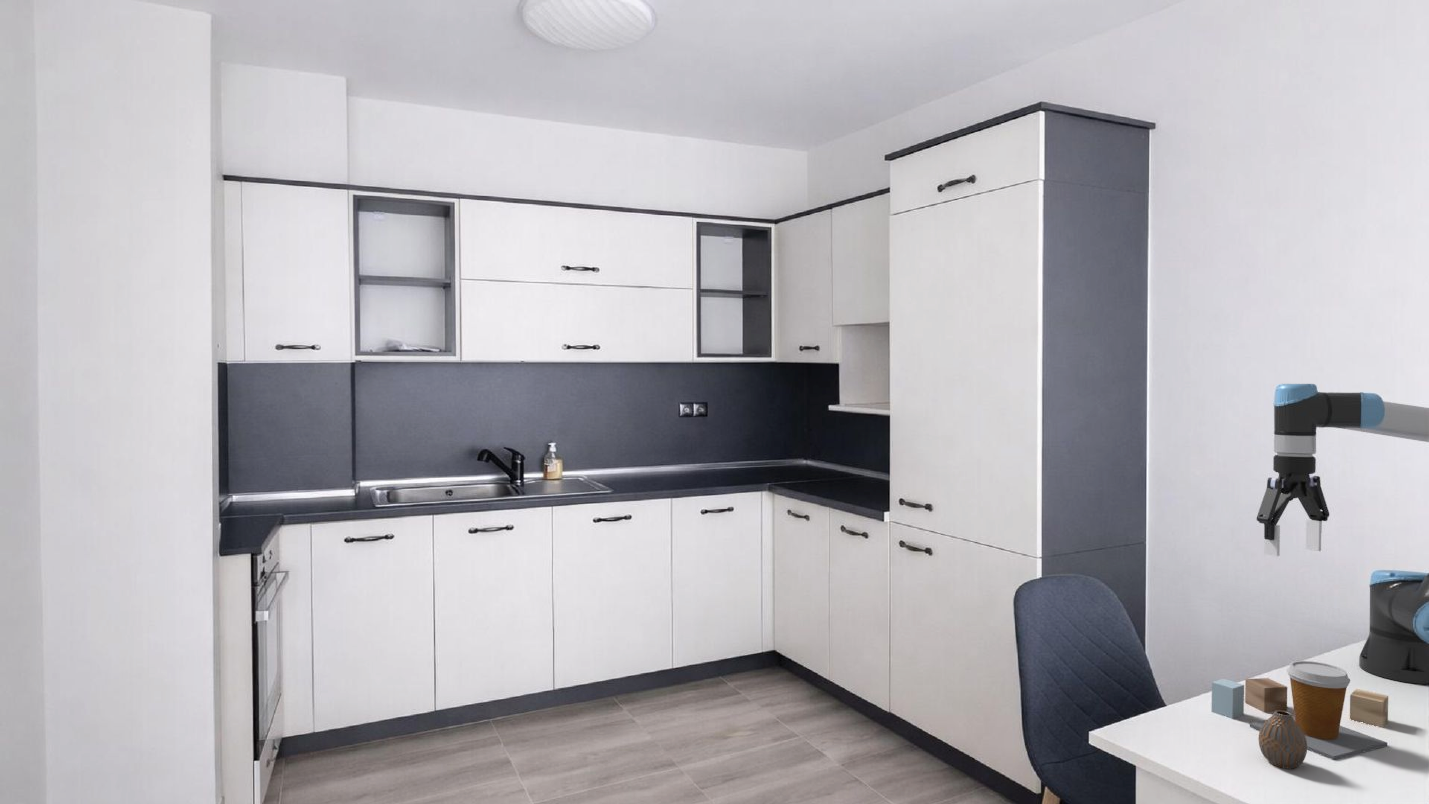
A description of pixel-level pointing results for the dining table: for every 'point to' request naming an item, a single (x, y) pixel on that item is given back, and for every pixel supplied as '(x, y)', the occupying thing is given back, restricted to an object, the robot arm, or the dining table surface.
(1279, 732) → the vase
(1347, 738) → the mat
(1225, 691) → the block
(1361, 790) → the dining table surface
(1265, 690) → the block
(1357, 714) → the block
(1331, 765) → the dining table surface
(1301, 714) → the disposable coffee cup
